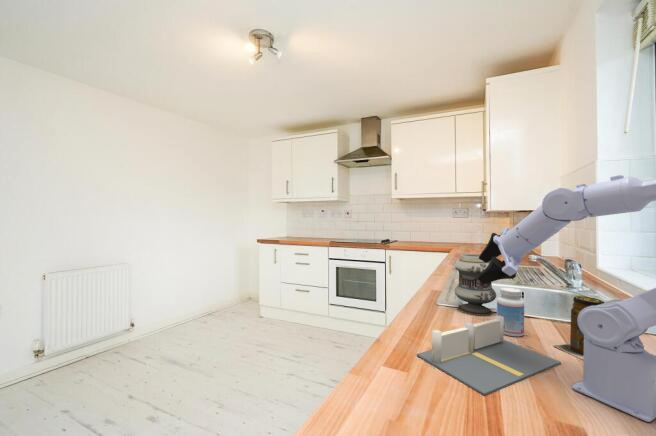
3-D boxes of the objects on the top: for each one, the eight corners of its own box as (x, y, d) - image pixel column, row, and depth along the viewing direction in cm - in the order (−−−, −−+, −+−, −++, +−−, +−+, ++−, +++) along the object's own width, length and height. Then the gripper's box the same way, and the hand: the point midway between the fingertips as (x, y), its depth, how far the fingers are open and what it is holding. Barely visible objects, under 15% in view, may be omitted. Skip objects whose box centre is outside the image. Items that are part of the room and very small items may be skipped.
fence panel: (476, 349, 64) (476, 324, 64) (469, 346, 65) (469, 321, 65) (505, 341, 68) (505, 317, 68) (497, 338, 70) (497, 315, 70)
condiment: (617, 358, 63) (618, 302, 63) (587, 362, 61) (588, 304, 61) (581, 343, 70) (582, 293, 70) (552, 346, 68) (553, 295, 68)
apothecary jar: (468, 303, 102) (469, 251, 102) (503, 312, 92) (504, 255, 92) (446, 308, 96) (447, 253, 96) (482, 319, 85) (483, 258, 85)
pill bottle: (528, 338, 72) (529, 293, 72) (501, 336, 73) (502, 291, 73) (517, 329, 78) (518, 287, 78) (493, 327, 79) (493, 286, 79)
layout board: (560, 363, 60) (561, 361, 60) (484, 395, 48) (484, 392, 48) (489, 335, 73) (489, 333, 73) (416, 355, 62) (416, 353, 62)
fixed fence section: (468, 348, 65) (468, 321, 65) (475, 351, 64) (475, 324, 64) (429, 359, 60) (430, 330, 60) (436, 363, 58) (437, 333, 58)
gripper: (509, 207, 67) (469, 243, 76) (512, 244, 56) (465, 281, 65) (536, 224, 66) (493, 258, 75) (545, 265, 55) (493, 299, 64)
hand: (481, 269), depth 70 cm, fingers open, 7 cm apart
